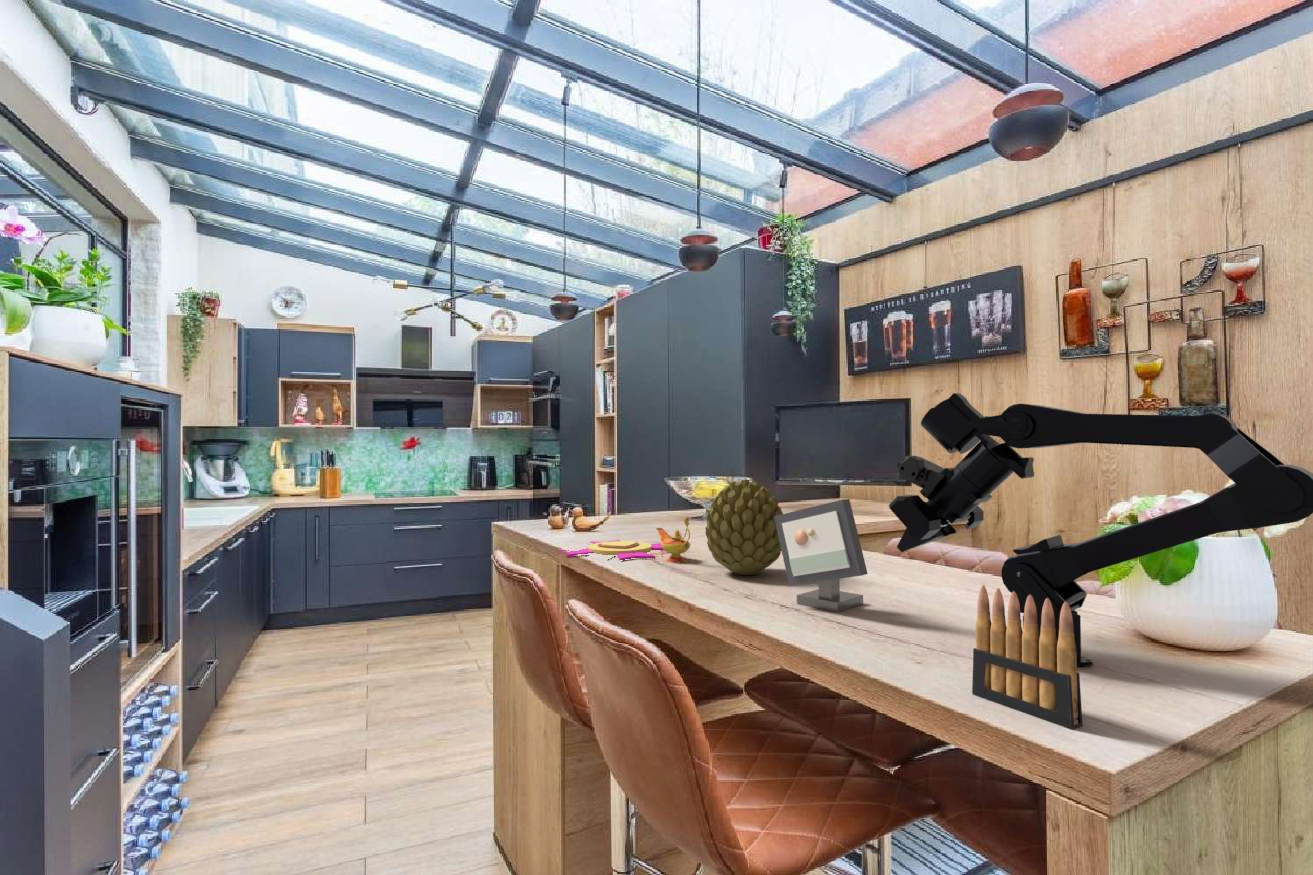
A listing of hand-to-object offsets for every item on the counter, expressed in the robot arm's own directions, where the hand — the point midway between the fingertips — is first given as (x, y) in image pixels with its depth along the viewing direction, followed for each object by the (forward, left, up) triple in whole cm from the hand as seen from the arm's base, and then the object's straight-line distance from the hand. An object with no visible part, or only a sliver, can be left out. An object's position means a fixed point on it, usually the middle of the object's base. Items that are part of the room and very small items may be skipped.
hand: (900, 549), depth 99 cm
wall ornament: (+79, +38, -12) cm, 88 cm away
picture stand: (+16, +5, -12) cm, 20 cm away
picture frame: (+10, +8, -6) cm, 14 cm away
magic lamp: (+64, +26, -12) cm, 70 cm away
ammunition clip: (-30, +2, -12) cm, 33 cm away
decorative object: (+44, +13, -12) cm, 47 cm away
